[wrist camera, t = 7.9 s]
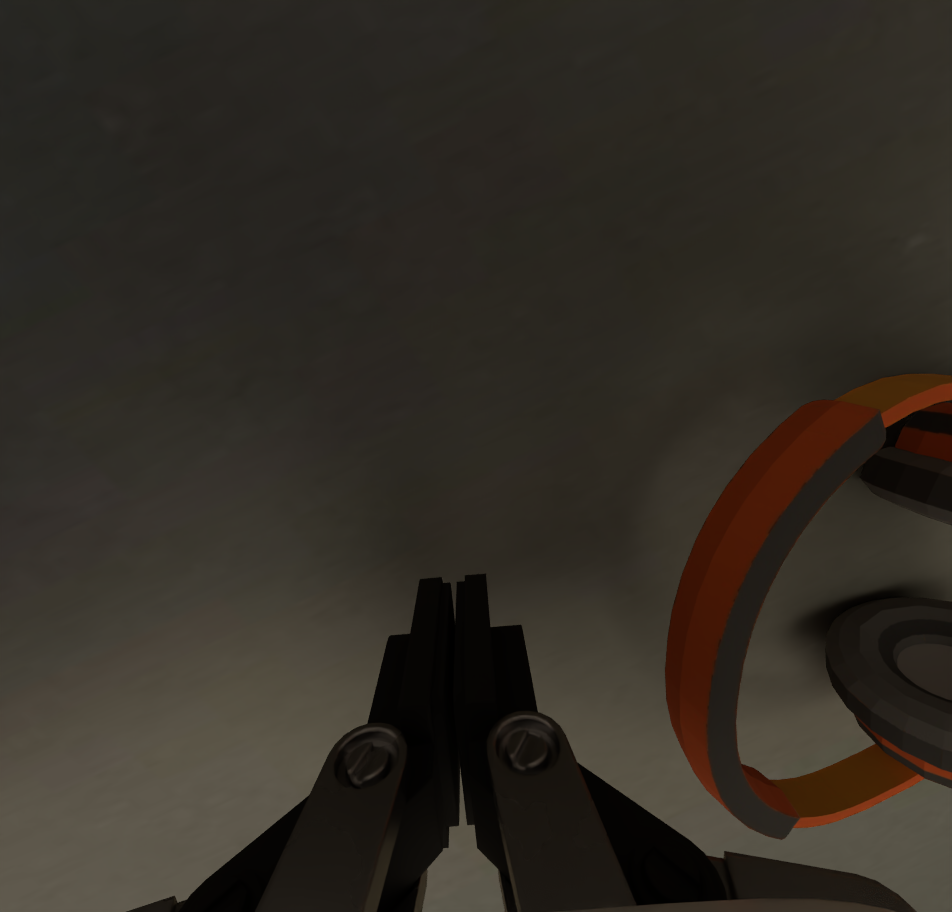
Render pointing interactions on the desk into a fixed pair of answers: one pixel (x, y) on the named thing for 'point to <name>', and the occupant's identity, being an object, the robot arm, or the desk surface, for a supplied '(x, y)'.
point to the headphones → (851, 634)
